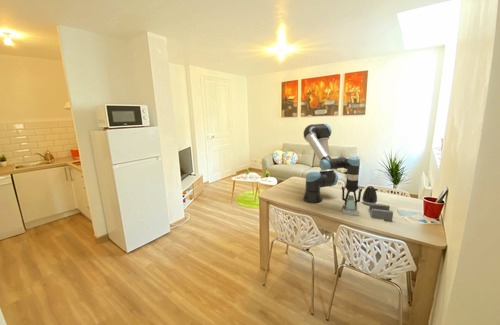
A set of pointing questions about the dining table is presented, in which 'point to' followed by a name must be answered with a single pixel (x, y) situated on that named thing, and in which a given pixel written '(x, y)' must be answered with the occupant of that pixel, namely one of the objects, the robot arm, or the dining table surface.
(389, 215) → the port
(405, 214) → the dining table surface
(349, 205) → the plug
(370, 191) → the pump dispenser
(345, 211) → the holster
